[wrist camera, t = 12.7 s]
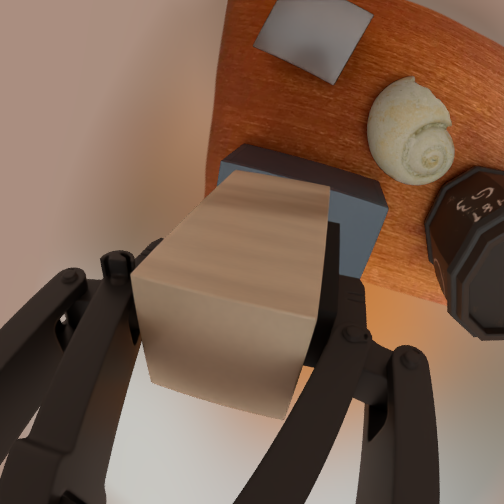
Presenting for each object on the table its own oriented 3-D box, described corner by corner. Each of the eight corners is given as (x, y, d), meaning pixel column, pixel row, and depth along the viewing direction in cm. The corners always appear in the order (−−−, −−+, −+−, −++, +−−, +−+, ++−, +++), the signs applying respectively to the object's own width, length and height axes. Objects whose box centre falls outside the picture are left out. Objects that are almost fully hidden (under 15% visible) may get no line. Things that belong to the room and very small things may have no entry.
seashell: (470, 186, 29) (389, 203, 31) (442, 173, 36) (373, 187, 38) (447, 69, 24) (360, 80, 27) (422, 76, 32) (349, 88, 34)
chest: (352, 251, 44) (354, 285, 38) (230, 215, 46) (210, 243, 39) (378, 181, 39) (387, 205, 32) (243, 143, 41) (223, 158, 34)
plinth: (302, 2, 29) (290, -24, 20) (363, 32, 30) (374, 14, 20) (274, 54, 34) (252, 46, 25) (333, 84, 34) (333, 85, 25)
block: (234, 169, 17) (129, 273, 8) (330, 186, 16) (317, 318, 8) (229, 250, 19) (150, 382, 11) (313, 268, 18) (283, 421, 10)
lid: (352, 292, 38) (352, 296, 37) (209, 250, 40) (207, 253, 39) (387, 205, 32) (388, 208, 31) (223, 159, 34) (220, 160, 33)
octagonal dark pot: (488, 290, 41) (520, 362, 28) (401, 253, 43) (420, 330, 30) (543, 195, 32) (601, 248, 18) (455, 138, 33) (512, 175, 20)
